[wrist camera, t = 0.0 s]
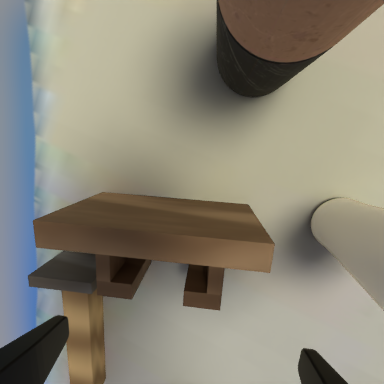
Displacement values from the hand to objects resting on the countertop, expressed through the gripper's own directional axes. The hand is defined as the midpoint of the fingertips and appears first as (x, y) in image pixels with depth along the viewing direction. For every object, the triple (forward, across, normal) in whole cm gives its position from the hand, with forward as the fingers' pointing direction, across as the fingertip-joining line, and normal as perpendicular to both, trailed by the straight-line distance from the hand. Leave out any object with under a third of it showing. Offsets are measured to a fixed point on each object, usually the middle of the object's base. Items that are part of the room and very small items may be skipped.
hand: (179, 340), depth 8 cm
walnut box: (+15, +3, +3) cm, 15 cm away
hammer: (+15, +13, +16) cm, 26 cm away
